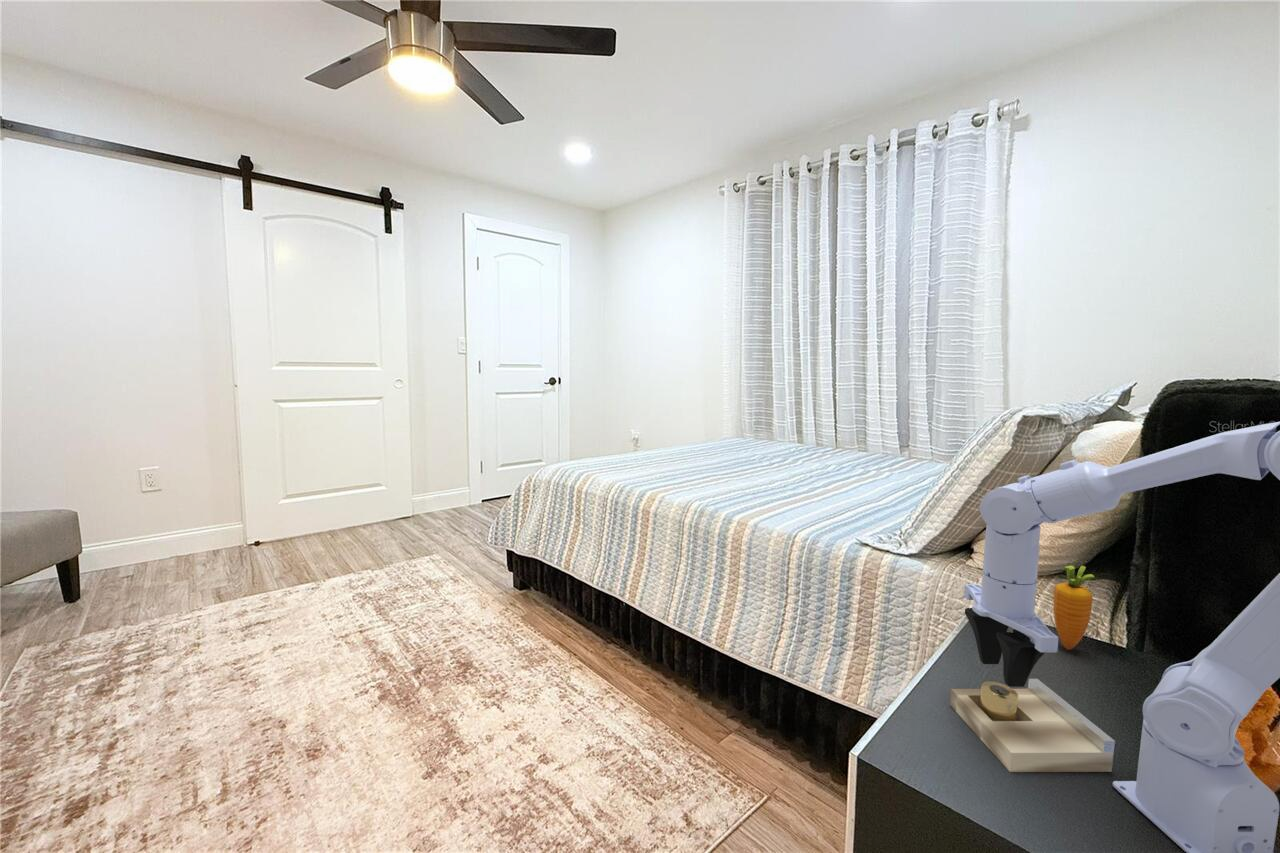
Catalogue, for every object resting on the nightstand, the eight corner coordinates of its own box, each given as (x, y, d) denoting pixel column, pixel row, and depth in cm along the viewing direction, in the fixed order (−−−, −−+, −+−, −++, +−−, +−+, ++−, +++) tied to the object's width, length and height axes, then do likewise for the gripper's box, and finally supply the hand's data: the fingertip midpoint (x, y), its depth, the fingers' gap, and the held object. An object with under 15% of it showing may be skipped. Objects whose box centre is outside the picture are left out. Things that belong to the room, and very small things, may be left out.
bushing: (1022, 735, 67) (1025, 699, 66) (992, 736, 67) (995, 700, 66) (1000, 714, 71) (1002, 680, 70) (972, 715, 71) (974, 681, 70)
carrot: (1072, 642, 88) (1080, 559, 87) (1095, 658, 84) (1104, 571, 82) (1042, 641, 89) (1049, 558, 87) (1062, 657, 84) (1070, 570, 82)
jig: (1111, 771, 61) (1115, 740, 60) (1009, 772, 61) (1012, 741, 60) (1035, 704, 73) (1037, 678, 72) (950, 705, 73) (951, 679, 72)
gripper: (945, 555, 73) (940, 644, 75) (1018, 601, 59) (1010, 710, 61) (994, 554, 73) (988, 643, 75) (1080, 601, 59) (1069, 709, 61)
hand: (1001, 673), depth 68 cm, fingers open, 4 cm apart
